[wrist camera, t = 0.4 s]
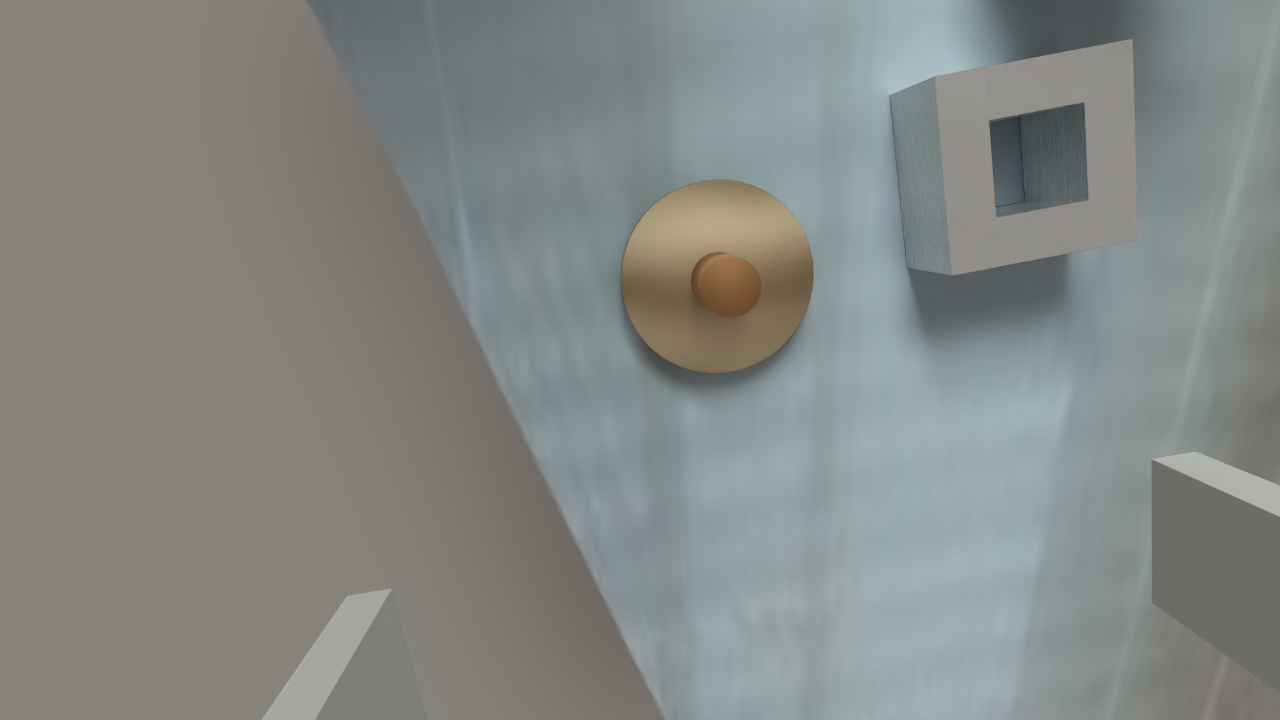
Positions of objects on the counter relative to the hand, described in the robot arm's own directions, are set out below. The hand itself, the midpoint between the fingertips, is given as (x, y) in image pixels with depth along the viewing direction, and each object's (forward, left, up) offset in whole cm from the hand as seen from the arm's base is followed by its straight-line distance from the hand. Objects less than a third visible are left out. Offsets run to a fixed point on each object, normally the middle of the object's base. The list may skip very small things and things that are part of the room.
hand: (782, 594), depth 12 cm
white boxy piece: (-5, +18, -26) cm, 32 cm away
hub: (-2, +3, -26) cm, 27 cm away
